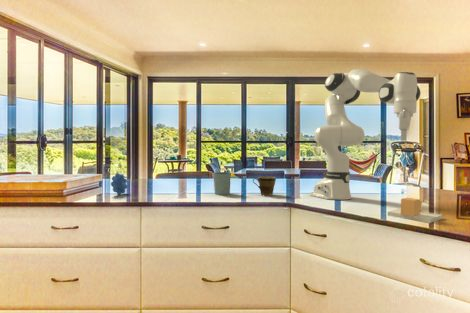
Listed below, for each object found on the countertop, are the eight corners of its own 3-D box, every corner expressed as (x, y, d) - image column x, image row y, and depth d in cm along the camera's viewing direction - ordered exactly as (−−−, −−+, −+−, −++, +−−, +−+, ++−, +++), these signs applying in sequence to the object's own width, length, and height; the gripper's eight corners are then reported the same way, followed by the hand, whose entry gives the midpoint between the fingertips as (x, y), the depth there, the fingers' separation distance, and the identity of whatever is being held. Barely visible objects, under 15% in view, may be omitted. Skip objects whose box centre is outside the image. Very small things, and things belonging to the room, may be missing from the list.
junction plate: (387, 215, 132) (388, 200, 131) (400, 211, 139) (401, 197, 139) (430, 223, 119) (431, 207, 119) (441, 218, 127) (442, 203, 126)
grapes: (117, 196, 168) (117, 174, 167) (108, 195, 170) (107, 173, 170) (132, 193, 178) (132, 172, 178) (123, 192, 181) (123, 171, 180)
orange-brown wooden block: (400, 214, 127) (401, 198, 127) (406, 212, 130) (407, 197, 130) (413, 216, 123) (414, 200, 123) (419, 214, 126) (420, 199, 126)
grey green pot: (230, 195, 176) (230, 173, 175) (212, 195, 176) (212, 173, 175) (230, 192, 186) (231, 172, 185) (213, 192, 186) (213, 171, 185)
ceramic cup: (275, 193, 183) (275, 176, 182) (275, 196, 173) (276, 178, 172) (252, 193, 184) (253, 175, 183) (252, 196, 174) (252, 177, 173)
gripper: (413, 106, 129) (412, 140, 129) (412, 110, 147) (411, 140, 147) (395, 106, 132) (394, 140, 133) (397, 111, 150) (396, 140, 150)
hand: (403, 140), depth 140 cm, fingers open, 8 cm apart
